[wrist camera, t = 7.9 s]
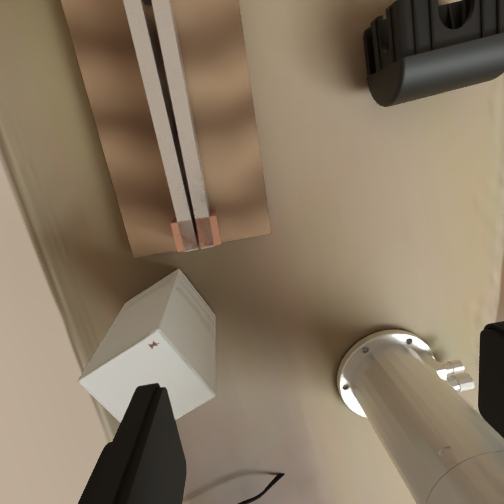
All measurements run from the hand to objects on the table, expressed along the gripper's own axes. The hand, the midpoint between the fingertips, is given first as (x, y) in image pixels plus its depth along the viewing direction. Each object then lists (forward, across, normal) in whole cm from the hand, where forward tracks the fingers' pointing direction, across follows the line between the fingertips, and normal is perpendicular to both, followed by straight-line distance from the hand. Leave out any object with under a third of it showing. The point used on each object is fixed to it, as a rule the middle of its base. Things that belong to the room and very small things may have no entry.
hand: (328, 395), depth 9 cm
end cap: (+25, -17, -14) cm, 34 cm away
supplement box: (+25, +11, +7) cm, 28 cm away
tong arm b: (+22, +7, -10) cm, 26 cm away
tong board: (+24, +6, -12) cm, 28 cm away
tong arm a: (+23, +5, -10) cm, 25 cm away
